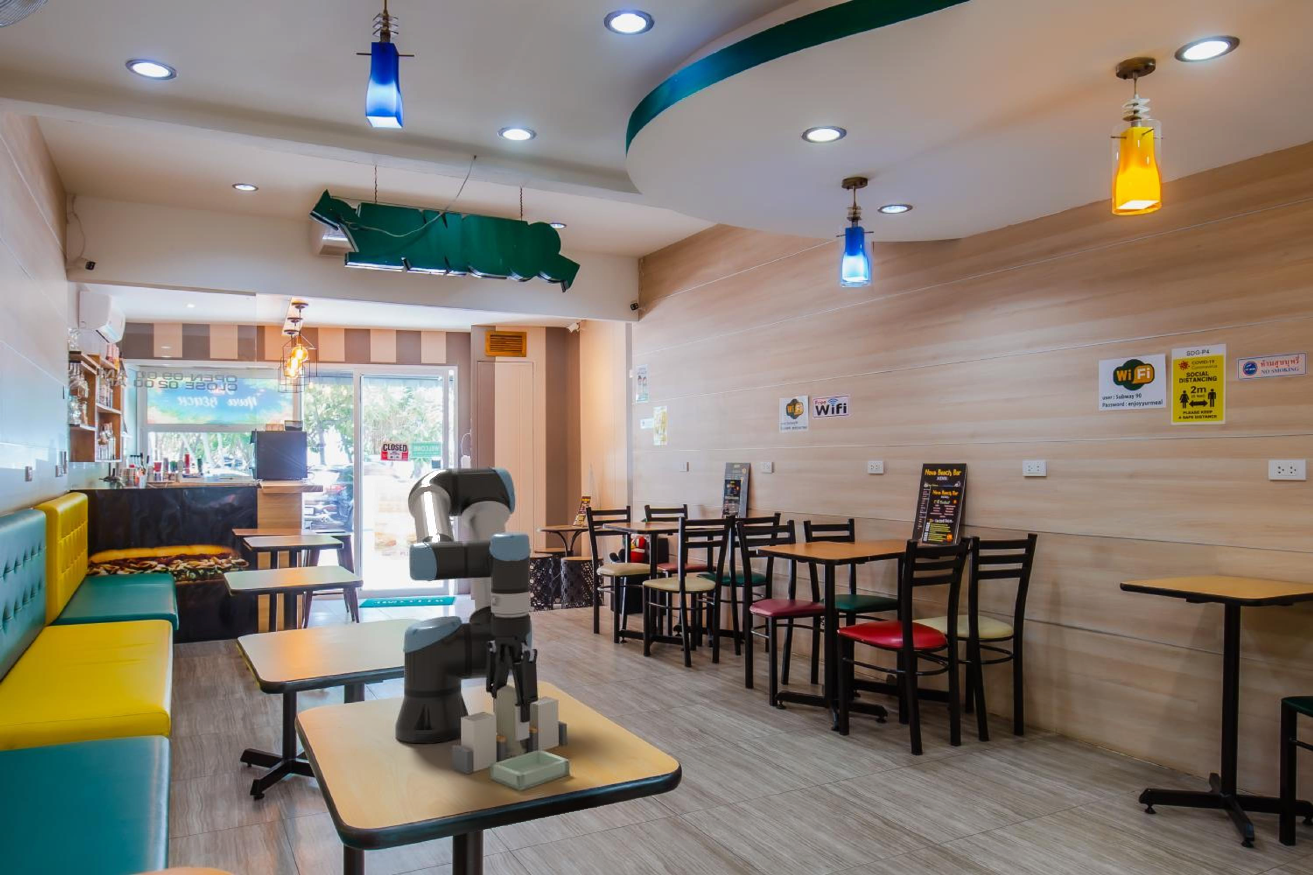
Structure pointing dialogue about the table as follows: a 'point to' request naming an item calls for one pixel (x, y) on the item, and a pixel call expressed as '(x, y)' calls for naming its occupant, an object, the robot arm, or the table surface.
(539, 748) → the tall white pillar
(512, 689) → the box
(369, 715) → the table surface
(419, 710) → the robot arm
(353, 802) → the table surface
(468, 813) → the table surface
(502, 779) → the tray
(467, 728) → the tall white upright block
